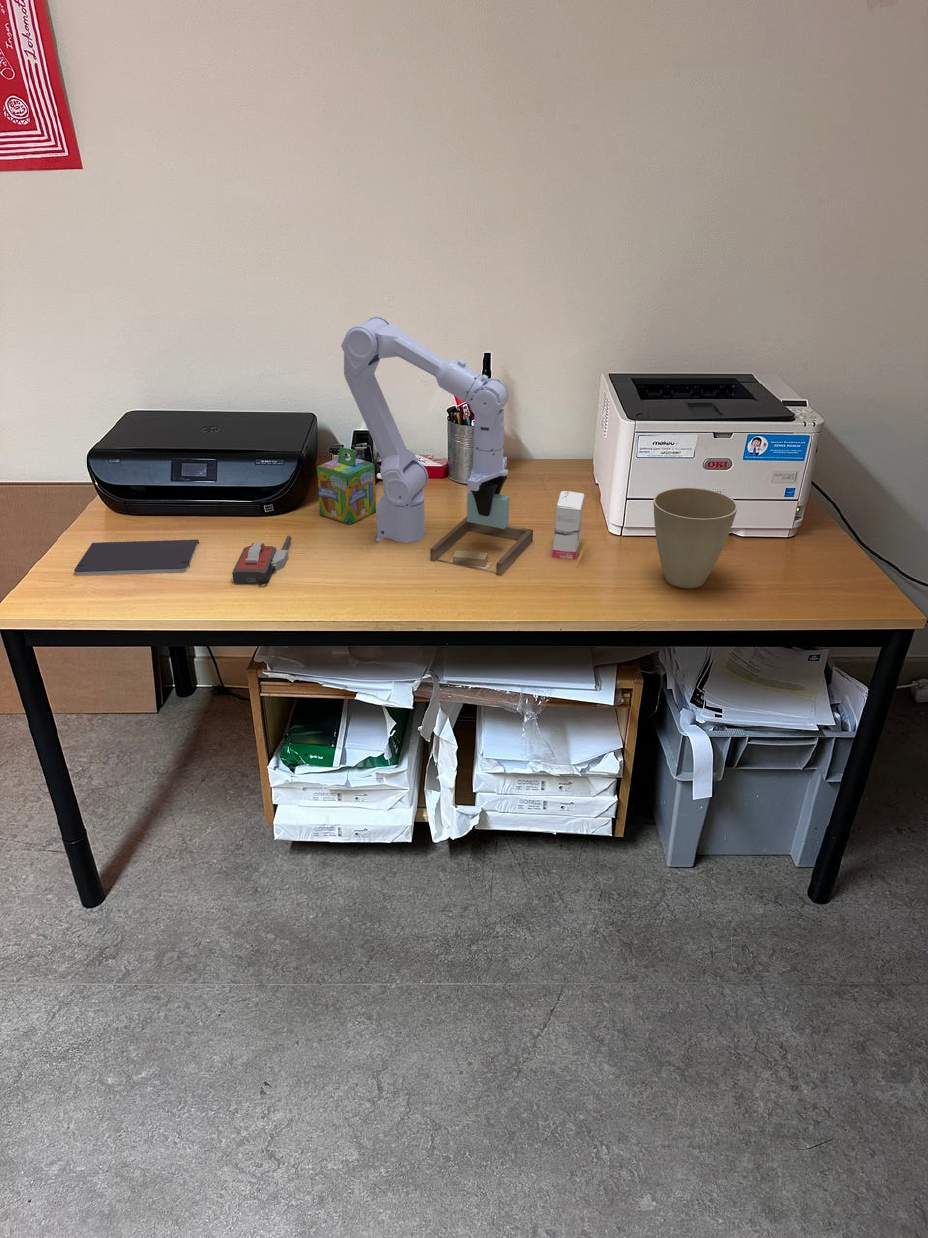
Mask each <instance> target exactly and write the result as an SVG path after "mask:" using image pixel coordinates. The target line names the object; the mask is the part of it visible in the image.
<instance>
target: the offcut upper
mask: <svg viewBox="0 0 928 1238" xmlns="http://www.w3.org/2000/svg"><path fill="white" fill-rule="evenodd" d="M452 558H453V564H460V565H471V566H482V567H485V566H486V563H487V562H488V552H482V551H480V552H478V551H469V550H468V551H467V550H454V553H453V555H452ZM453 564H452V565H453Z"/></svg>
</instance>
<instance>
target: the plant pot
mask: <svg viewBox="0 0 928 1238" xmlns="http://www.w3.org/2000/svg"><path fill="white" fill-rule="evenodd" d="M738 508H739V506H738V503H737V502H736V500H734V499H733V498H732V497H730V496H729V495H726V494H724V493H723V492H719V491H716V490H712V489H707V488H703V487H701V488H699V487H690V486H689V487H675V488H668V489H666V490H663V491H661V492H658V493H657V494H656V495H655V496H654V497H653V519H654V521H653V522H654V531H655V538H656V539H655V540H656V545H657V551H658V556H659V559H660V560H659V561H660V565H661V568H662V569H661V570H662V573H663V576H664V579H665V581H666V583H668V584H670V585H672V586H674V587H675V588H676V587H677V588H680V589H695V588H699V587H701V586H703V585H704V584H705V583H706V581H707V579H708V577H709V576H710V574H711V573H712V571H713V569H714V567H715V565H716V563H717V561H718V560H719V558H720V555H721V554H722V551H723V549H724V547H725V544H726V542H727V541H728V537H729V535H730V532H731V529H732V527H733V523H734V521H735V517H736V514H737V511H738Z"/></svg>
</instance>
